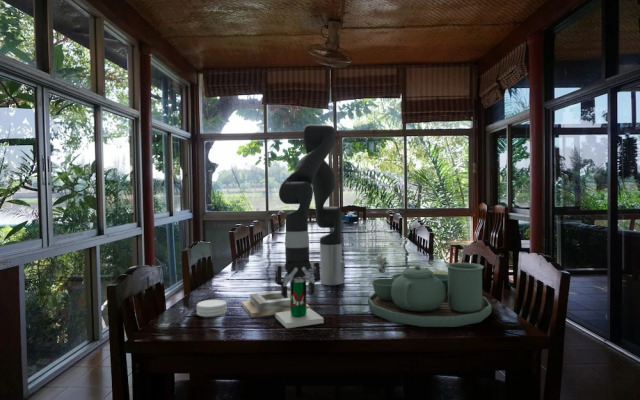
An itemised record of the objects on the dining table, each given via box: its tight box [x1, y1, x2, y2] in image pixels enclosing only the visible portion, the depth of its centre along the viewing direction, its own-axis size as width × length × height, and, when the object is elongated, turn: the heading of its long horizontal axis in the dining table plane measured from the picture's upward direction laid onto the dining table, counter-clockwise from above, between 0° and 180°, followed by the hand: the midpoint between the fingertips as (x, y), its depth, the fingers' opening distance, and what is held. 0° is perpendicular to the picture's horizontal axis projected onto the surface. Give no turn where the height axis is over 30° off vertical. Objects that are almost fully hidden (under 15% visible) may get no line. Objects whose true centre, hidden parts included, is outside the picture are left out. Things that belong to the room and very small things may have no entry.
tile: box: [274, 307, 325, 329], centre depth 139 cm, size 12×12×2 cm
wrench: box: [376, 254, 387, 271], centre depth 226 cm, size 8×2×30 cm
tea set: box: [367, 262, 493, 328], centre depth 148 cm, size 40×40×16 cm
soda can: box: [289, 276, 307, 317], centre depth 139 cm, size 5×5×12 cm
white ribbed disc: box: [195, 299, 228, 318], centre depth 149 cm, size 10×10×4 cm
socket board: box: [240, 289, 310, 319], centre depth 153 cm, size 20×16×4 cm
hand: (298, 296), depth 138 cm, fingers open, 8 cm apart
